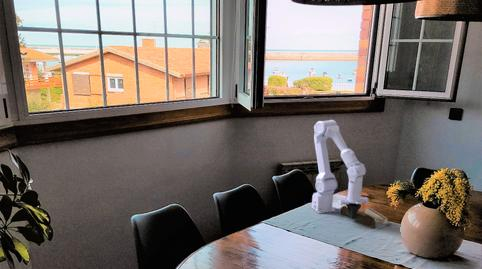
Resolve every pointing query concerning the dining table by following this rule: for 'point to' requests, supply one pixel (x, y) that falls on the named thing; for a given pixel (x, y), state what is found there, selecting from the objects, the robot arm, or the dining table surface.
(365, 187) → the dining table surface
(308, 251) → the dining table surface
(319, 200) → the robot arm
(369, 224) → the hand tool
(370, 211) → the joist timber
